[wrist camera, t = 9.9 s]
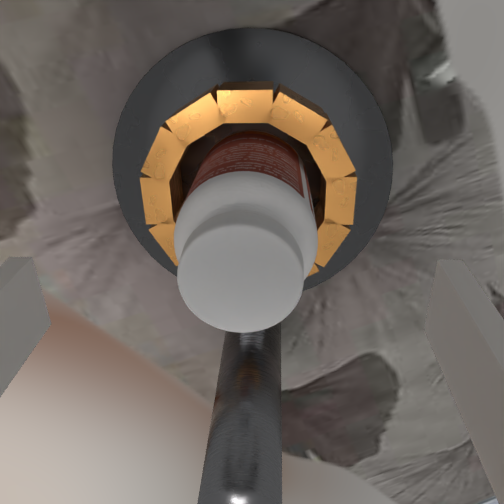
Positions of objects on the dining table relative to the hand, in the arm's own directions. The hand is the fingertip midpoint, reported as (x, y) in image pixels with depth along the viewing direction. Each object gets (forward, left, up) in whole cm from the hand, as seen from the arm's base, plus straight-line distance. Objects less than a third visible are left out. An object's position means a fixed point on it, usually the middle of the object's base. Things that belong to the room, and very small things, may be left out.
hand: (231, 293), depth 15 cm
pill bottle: (0, 0, -13) cm, 13 cm away
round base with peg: (+2, 0, -13) cm, 13 cm away
